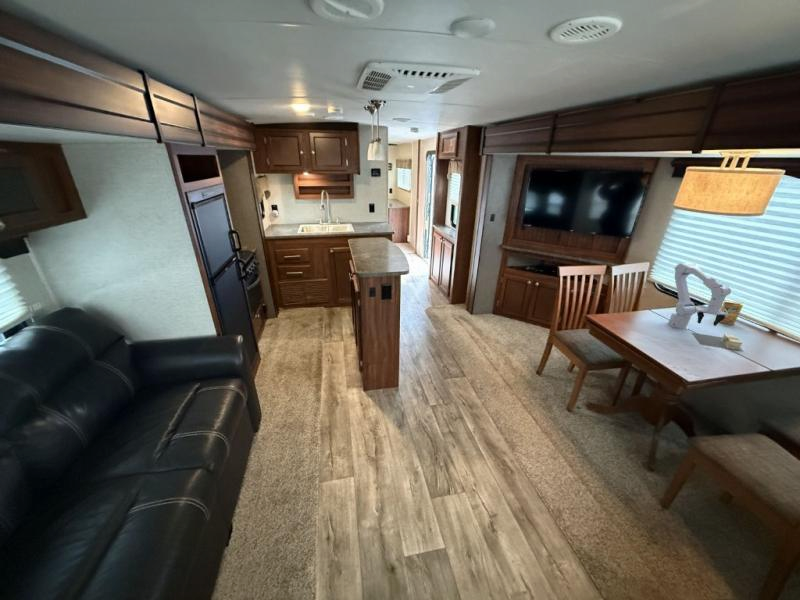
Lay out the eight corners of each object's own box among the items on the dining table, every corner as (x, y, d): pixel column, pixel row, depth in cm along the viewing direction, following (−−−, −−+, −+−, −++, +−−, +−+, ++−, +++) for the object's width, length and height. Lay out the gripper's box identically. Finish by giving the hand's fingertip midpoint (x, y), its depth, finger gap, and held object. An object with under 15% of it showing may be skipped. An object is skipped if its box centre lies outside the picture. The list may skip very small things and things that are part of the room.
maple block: (721, 340, 192) (724, 334, 190) (732, 342, 190) (735, 335, 188) (727, 347, 185) (730, 341, 183) (738, 349, 183) (742, 343, 181)
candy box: (716, 321, 216) (725, 301, 210) (715, 319, 219) (724, 299, 213) (733, 325, 210) (743, 305, 204) (733, 322, 213) (742, 303, 207)
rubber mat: (699, 344, 189) (700, 344, 189) (691, 332, 202) (691, 332, 202) (743, 352, 181) (743, 351, 181) (731, 339, 194) (731, 338, 194)
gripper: (702, 305, 188) (693, 324, 193) (733, 309, 182) (724, 329, 188) (698, 301, 194) (690, 319, 199) (728, 304, 188) (719, 324, 193)
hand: (706, 324), depth 194 cm, fingers open, 7 cm apart
